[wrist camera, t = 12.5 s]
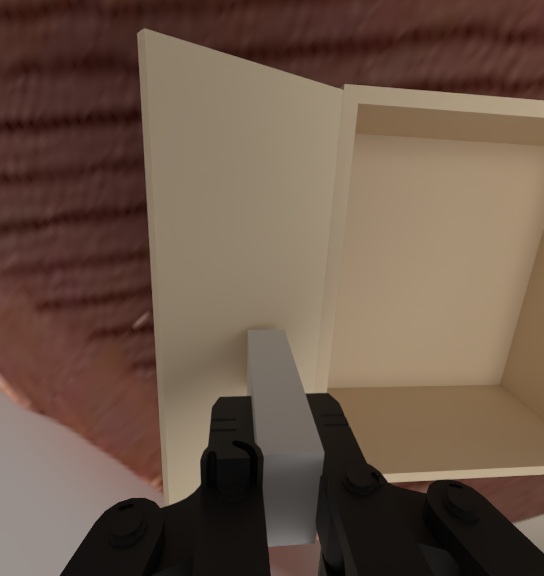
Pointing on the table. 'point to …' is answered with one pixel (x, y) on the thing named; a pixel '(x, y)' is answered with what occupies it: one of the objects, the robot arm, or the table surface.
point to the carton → (437, 283)
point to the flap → (230, 227)
